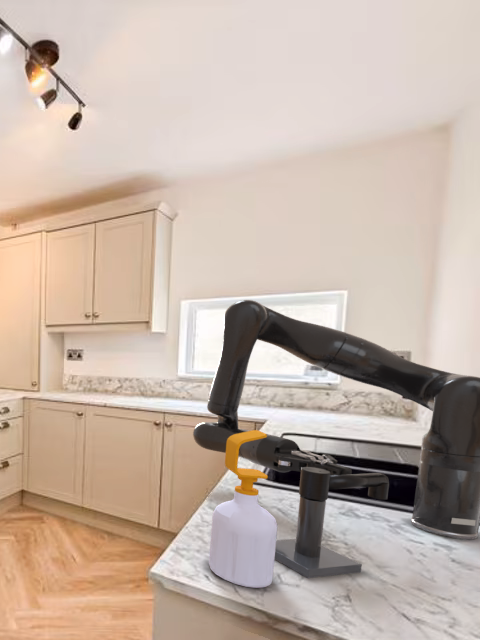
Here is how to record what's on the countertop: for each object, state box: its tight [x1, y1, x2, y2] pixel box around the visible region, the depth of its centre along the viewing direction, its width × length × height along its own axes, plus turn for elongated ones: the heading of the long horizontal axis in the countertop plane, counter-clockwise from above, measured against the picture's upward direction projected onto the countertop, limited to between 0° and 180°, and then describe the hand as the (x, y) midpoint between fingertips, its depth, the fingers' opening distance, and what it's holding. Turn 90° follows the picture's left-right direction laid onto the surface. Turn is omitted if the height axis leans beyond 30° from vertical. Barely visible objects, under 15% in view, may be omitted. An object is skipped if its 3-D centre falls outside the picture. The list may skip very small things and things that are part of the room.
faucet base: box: [274, 494, 362, 579], centre depth 76 cm, size 11×10×12 cm
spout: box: [298, 467, 390, 501], centre depth 76 cm, size 18×4×6 cm, turn 101°
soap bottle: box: [208, 429, 279, 589], centre depth 70 cm, size 9×9×25 cm
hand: (348, 474), depth 81 cm, fingers closed
